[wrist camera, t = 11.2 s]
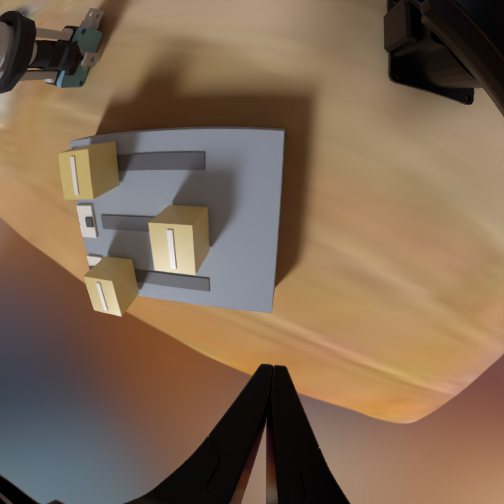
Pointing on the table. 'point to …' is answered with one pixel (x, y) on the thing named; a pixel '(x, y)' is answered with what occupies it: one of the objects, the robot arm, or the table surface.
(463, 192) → the table surface
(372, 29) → the table surface
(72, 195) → the slider
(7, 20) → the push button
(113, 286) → the slider
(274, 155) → the switch unit
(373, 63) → the table surface
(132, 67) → the table surface
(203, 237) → the slider
